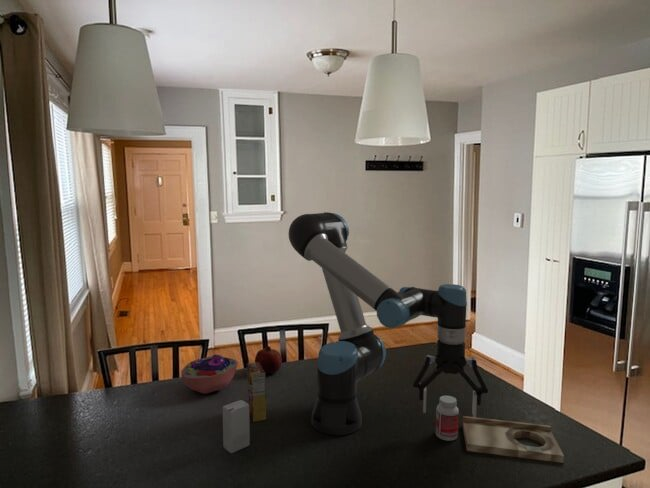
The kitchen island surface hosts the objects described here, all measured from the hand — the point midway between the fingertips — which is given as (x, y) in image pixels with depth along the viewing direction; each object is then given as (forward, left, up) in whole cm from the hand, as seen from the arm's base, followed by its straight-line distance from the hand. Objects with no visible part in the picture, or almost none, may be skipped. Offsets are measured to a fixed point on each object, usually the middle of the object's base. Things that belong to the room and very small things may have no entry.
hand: (449, 413), depth 128 cm
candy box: (-57, -1, -7) cm, 58 cm away
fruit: (-64, +30, -7) cm, 71 cm away
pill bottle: (0, 0, -7) cm, 7 cm away
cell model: (-79, +12, -7) cm, 81 cm away
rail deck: (+17, 0, -7) cm, 18 cm away
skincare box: (-56, -19, -7) cm, 60 cm away
